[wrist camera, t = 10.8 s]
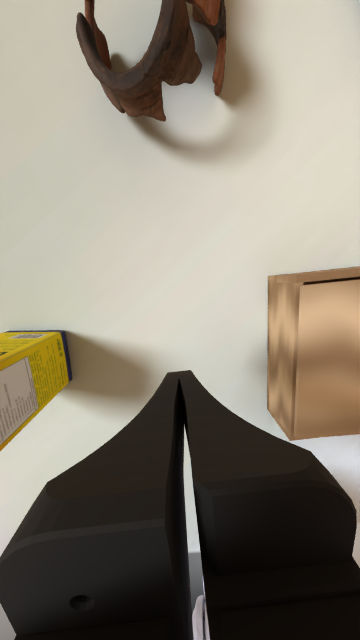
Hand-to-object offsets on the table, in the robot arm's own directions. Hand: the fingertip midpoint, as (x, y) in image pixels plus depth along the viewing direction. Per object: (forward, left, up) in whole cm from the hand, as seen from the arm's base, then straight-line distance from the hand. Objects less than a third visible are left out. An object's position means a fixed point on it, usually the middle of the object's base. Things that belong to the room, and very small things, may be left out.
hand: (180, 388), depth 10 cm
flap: (-3, -15, -6) cm, 16 cm away
